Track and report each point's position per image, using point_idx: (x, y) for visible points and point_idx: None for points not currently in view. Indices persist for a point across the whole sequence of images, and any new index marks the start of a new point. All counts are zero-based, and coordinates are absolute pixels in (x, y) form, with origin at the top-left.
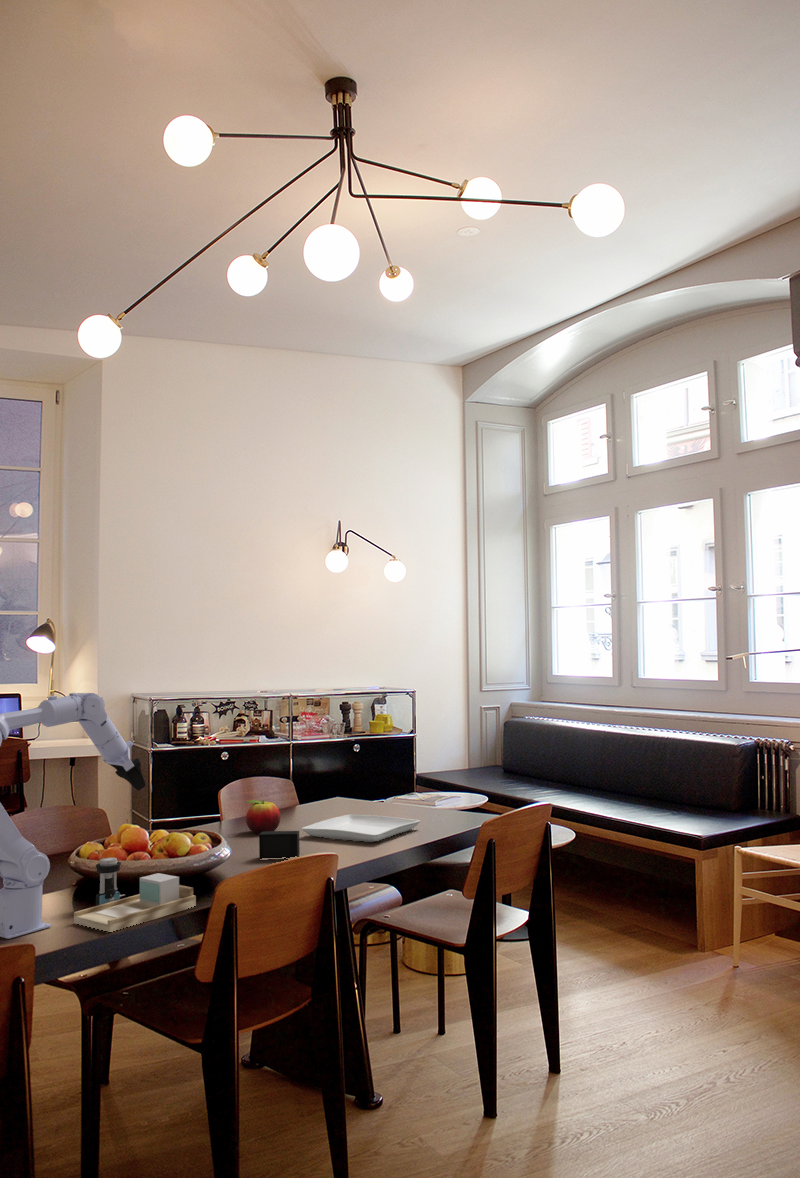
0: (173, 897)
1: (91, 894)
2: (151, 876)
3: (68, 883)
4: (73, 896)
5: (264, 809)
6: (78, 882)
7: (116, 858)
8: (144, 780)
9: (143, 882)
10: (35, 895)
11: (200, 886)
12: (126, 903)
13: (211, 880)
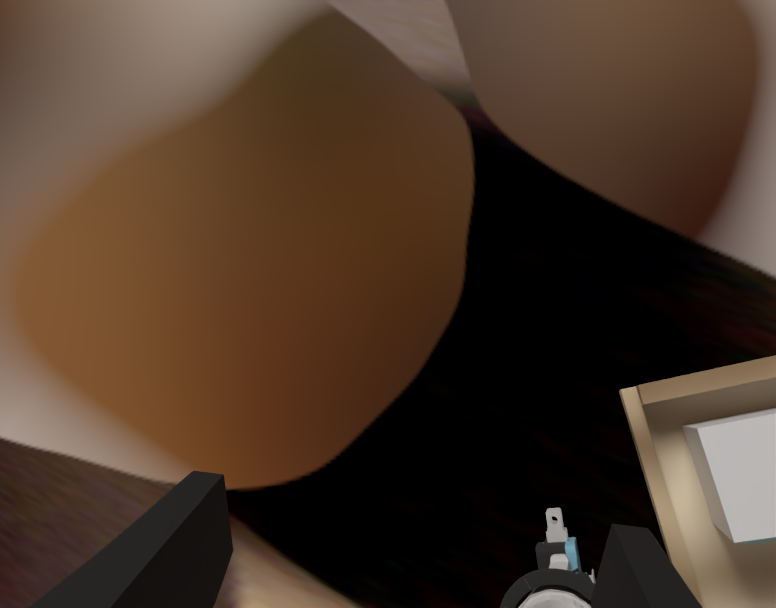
0: None
1: (365, 538)
2: (750, 487)
3: None
4: (345, 597)
5: None
6: None
7: (568, 603)
8: (682, 580)
9: (773, 540)
10: None
11: (550, 199)
12: (707, 579)
13: (497, 136)
